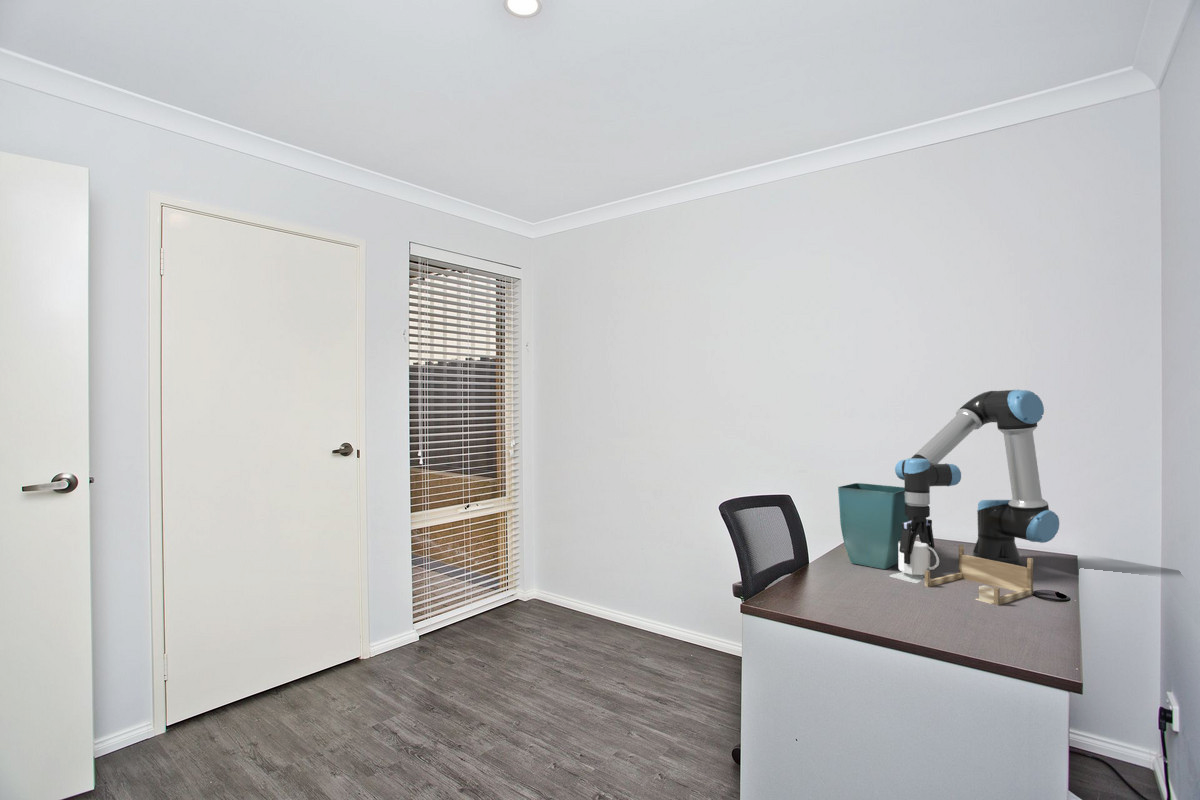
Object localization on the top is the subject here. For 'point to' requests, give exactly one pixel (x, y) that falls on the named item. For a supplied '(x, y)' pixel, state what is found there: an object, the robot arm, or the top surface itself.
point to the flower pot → (872, 523)
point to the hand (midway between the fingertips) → (917, 571)
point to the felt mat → (908, 577)
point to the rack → (991, 576)
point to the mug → (918, 558)
